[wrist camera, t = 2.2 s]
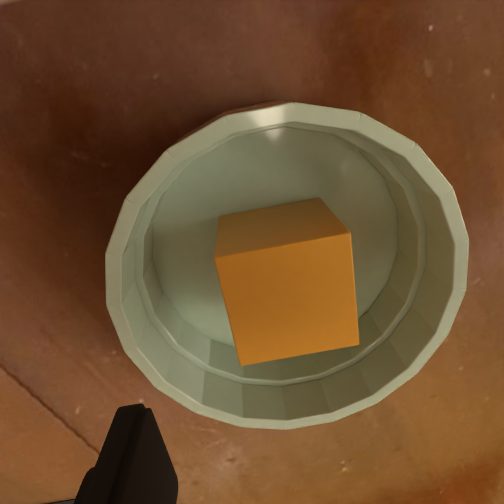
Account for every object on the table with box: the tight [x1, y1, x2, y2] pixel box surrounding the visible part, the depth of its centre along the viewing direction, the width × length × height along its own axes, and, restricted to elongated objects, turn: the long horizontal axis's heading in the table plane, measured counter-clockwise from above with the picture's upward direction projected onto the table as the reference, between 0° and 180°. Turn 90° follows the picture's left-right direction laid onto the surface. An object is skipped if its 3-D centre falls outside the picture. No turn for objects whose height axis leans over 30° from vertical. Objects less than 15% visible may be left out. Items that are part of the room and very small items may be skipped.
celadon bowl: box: [105, 101, 469, 430], centre depth 17 cm, size 14×14×5 cm
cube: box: [214, 198, 359, 366], centre depth 16 cm, size 5×5×5 cm
